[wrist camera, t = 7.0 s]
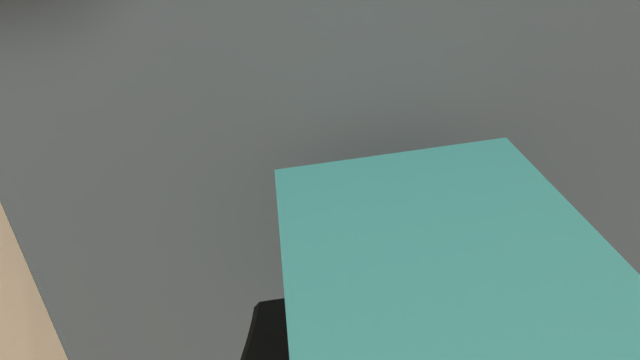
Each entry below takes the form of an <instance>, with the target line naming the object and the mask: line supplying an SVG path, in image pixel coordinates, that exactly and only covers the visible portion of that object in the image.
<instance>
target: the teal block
mask: <svg viewBox="0 0 640 360" xmlns="http://www.w3.org/2000/svg"><path fill="white" fill-rule="evenodd" d="M274 171H275V184H276V197H277V209H278V222H279V234H280V247H281V259H282V272H283V284H284V297H285V310H286V322H287V335H288V347H289V360H640V275H639V273H638V272H637V271H636V270H635V269H634V268H633V267H632V266H631V265H630V264H629V263H628V262H627V261H626V260H625V259H624V258H623V257H622V256H621V255H620V254H619V253H618V252H617V251H616V250H615V249H614V248H613V247H612V246H611V245H610V244H609V243H608V242H607V241H606V240H605V239H604V238H603V236H602V235H601V234H600V233H599V232H598V231H597V230H596V229H595V228H594V227H593V226H592V225H591V224H590V223H589V222H588V221H587V220H586V219H585V218H584V217H583V216H582V215H581V214H580V213H579V212H578V211H577V210H576V209H575V208H574V207H573V206H572V205H571V204H570V203H569V202H568V201H567V199H566V198H565V197H564V196H563V195H562V194H561V193H560V192H559V191H558V190H557V189H556V188H555V187H554V186H553V185H552V184H551V183H550V182H549V181H548V180H547V179H546V178H545V177H544V176H543V175H542V174H541V173H540V172H539V171H538V170H537V169H536V168H535V167H534V166H533V165H532V164H531V162H530V161H529V160H528V159H527V158H526V157H525V156H524V155H523V154H522V153H521V152H520V151H519V150H518V149H517V148H516V147H515V146H514V145H513V144H512V143H511V142H510V141H509V140H508V139H507V138H498V139H491V140H484V141H477V142H470V143H463V144H455V145H448V146H441V147H434V148H427V149H420V150H413V151H405V152H398V153H391V154H384V155H377V156H370V157H362V158H355V159H348V160H341V161H334V162H327V163H319V164H312V165H305V166H298V167H291V168H284V169H276V170H274Z"/></svg>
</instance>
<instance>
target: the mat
mask: <svg viewBox="0 0 640 360" xmlns="http://www.w3.org/2000/svg"><path fill="white" fill-rule="evenodd" d="M498 138H507V139H508V140H509V141H510V142H511V143H512V144H513V145H514V146H515V147H516V148H517V149H518V150H519V151H520V152H521V153H522V154H523V155H524V156H525V157H526V158H527V159H528V160H529V161H530V162H531V164H532V165H533V166H534V167H535V168H536V169H537V170H538V171H539V172H540V173H541V174H542V175H543V176H544V177H545V178H546V179H547V180H548V181H549V182H550V183H551V184H552V185H553V186H554V187H555V188H556V189H557V190H558V191H559V192H560V193H561V194H562V195H563V196H564V197H565V198H566V199H567V201H568V202H569V203H570V204H571V205H572V206H573V207H574V208H575V209H576V210H577V211H578V212H579V213H580V214H581V215H582V216H583V217H584V218H585V219H586V220H587V221H588V222H589V223H590V224H591V225H592V226H593V227H594V228H595V229H596V230H597V231H598V232H599V233H600V234H601V235H602V236H603V238H604V239H605V240H606V241H607V242H608V243H609V244H610V245H611V246H612V247H613V248H614V249H615V250H616V251H617V252H618V253H619V254H620V255H621V256H622V257H623V258H624V259H625V260H626V261H627V262H628V263H629V264H630V265H631V266H632V267H633V268H634V269H635V270H636V271H637V272H638V273H639V275H640V0H0V202H1V204H2V207H3V209H4V211H5V214H6V216H7V218H8V220H9V223H10V225H11V227H12V230H13V232H14V234H15V237H16V239H17V241H18V244H19V246H20V248H21V251H22V253H23V255H24V258H25V260H26V262H27V265H28V267H29V269H30V272H31V274H32V276H33V279H34V281H35V283H36V286H37V288H38V290H39V293H40V295H41V297H42V300H43V302H44V304H45V307H46V309H47V311H48V314H49V316H50V318H51V321H52V323H53V325H54V328H55V330H56V332H57V335H58V337H59V339H60V342H61V344H62V346H63V348H64V351H65V353H66V355H67V358H68V360H240V359H241V356H242V353H243V350H244V346H245V343H246V340H247V336H248V333H249V329H250V325H251V321H252V316H253V310H254V307H255V306H256V305H257V304H258V303H259V302H261V301H268V300H274V299H281V298H285V297H284V284H283V272H282V259H281V247H280V234H279V222H278V209H277V197H276V184H275V171H274V170H276V169H284V168H291V167H298V166H305V165H312V164H319V163H327V162H334V161H341V160H348V159H355V158H362V157H370V156H377V155H384V154H391V153H398V152H405V151H413V150H420V149H427V148H434V147H441V146H448V145H455V144H463V143H470V142H477V141H484V140H491V139H498Z"/></svg>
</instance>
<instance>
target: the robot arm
mask: <svg viewBox="0 0 640 360" xmlns="http://www.w3.org/2000/svg"><path fill="white" fill-rule="evenodd" d="M240 360H289V347H288V335H287V322H286V310H285V298H281V299H274V300H268V301H261V302H259V303H258V304H257V305H256V306H255V307H254V310H253V316H252V321H251V325H250V329H249V333H248V336H247V340H246V343H245V346H244V350H243V353H242V356H241V359H240Z"/></svg>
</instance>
